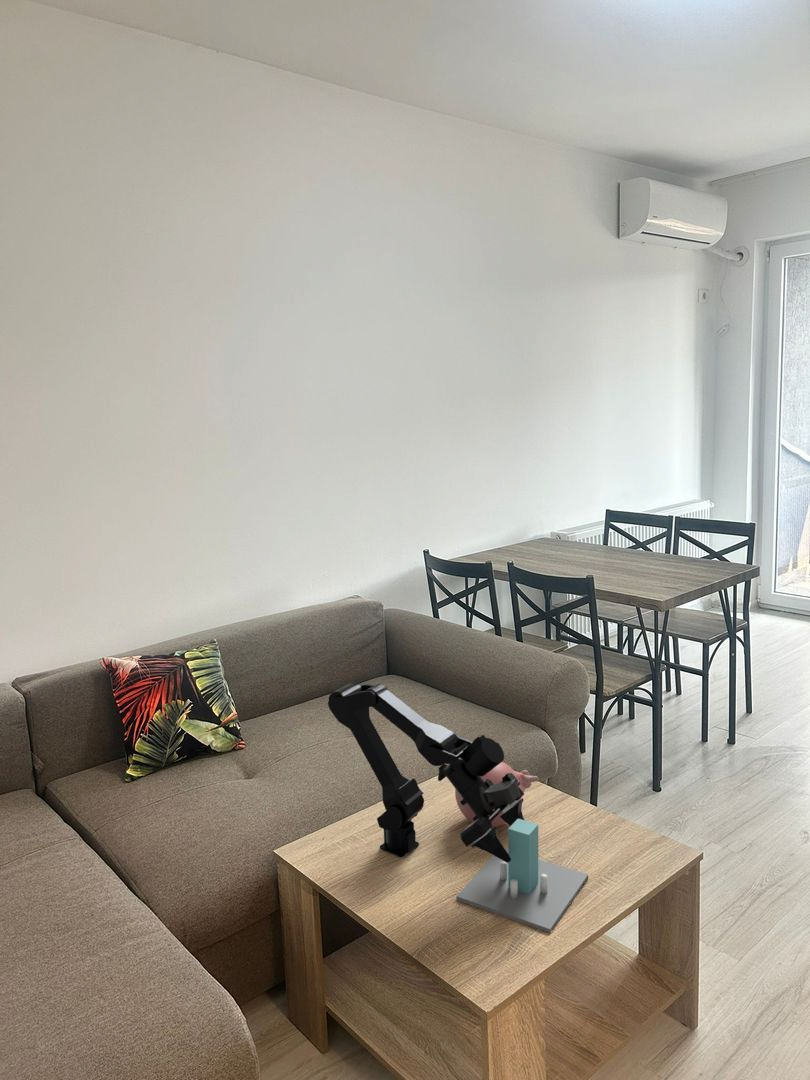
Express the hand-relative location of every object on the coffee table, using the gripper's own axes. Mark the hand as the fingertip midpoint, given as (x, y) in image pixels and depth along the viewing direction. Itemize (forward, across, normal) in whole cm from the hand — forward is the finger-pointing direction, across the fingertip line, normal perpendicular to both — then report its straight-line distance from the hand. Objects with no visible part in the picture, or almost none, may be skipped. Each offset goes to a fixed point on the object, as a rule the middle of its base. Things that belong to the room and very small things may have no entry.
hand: (519, 850), depth 167 cm
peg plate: (+6, 0, +5) cm, 8 cm away
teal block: (+6, 0, +5) cm, 8 cm away
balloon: (-4, +21, +17) cm, 27 cm away
